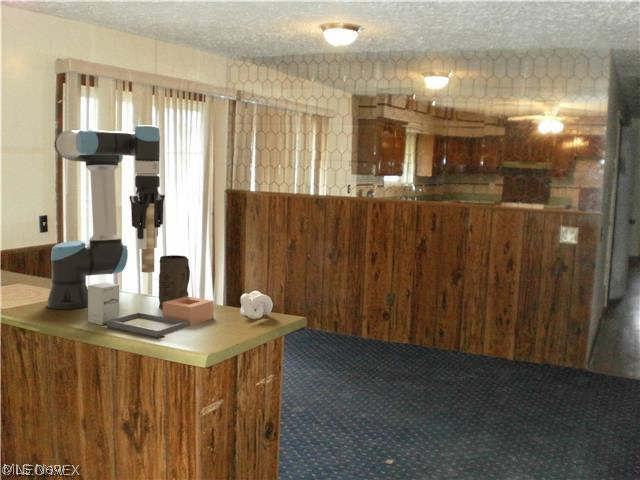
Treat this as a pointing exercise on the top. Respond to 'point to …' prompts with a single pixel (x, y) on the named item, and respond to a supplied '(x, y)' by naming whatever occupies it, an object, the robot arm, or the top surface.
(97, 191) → the robot arm
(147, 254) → the wooden peg
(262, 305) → the white decorative knot
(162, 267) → the beer stein
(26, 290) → the top surface
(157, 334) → the tray
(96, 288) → the supplement box
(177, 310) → the orange square hole block
